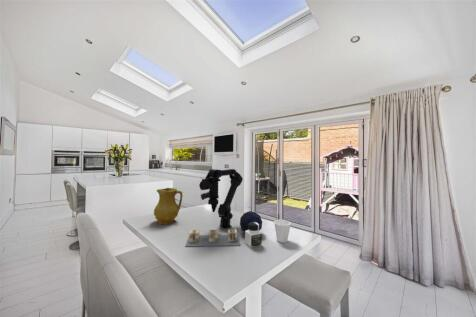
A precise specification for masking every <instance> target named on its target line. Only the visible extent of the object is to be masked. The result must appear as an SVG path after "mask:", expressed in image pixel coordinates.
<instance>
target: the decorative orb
mask: <svg viewBox="0 0 476 317" xmlns="http://www.w3.org/2000/svg"><path fill="white" fill-rule="evenodd" d="M251 222H256V223H258V224H259V232H261V231H260V230H262V226H263V220H262V218H261V215H260V214H258V212H255V211H251V210H248V211H246V212H244V213H243V214H242V215H241V217H240V221H239V226H240V230H241V231H242V232H243V233H244V234H245V231H246V230H248V224H249V223H251Z"/></svg>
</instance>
